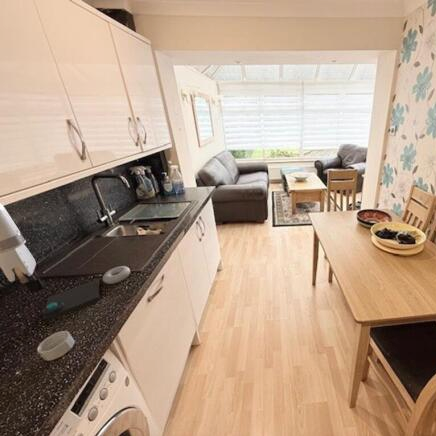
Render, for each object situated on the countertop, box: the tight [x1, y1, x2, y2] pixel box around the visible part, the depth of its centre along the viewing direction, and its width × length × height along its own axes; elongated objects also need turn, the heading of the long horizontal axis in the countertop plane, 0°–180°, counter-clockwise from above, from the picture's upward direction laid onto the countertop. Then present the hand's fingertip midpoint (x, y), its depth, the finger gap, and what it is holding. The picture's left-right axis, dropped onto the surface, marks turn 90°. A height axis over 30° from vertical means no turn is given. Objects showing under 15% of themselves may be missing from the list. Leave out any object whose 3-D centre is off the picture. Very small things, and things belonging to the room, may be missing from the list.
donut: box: [102, 265, 131, 285], centre depth 102 cm, size 10×4×10 cm
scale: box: [41, 278, 101, 323], centre depth 92 cm, size 16×14×3 cm
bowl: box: [36, 330, 76, 362], centre depth 72 cm, size 7×7×4 cm
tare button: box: [47, 302, 58, 310], centre depth 85 cm, size 3×3×1 cm
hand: (38, 289), depth 79 cm, fingers closed
